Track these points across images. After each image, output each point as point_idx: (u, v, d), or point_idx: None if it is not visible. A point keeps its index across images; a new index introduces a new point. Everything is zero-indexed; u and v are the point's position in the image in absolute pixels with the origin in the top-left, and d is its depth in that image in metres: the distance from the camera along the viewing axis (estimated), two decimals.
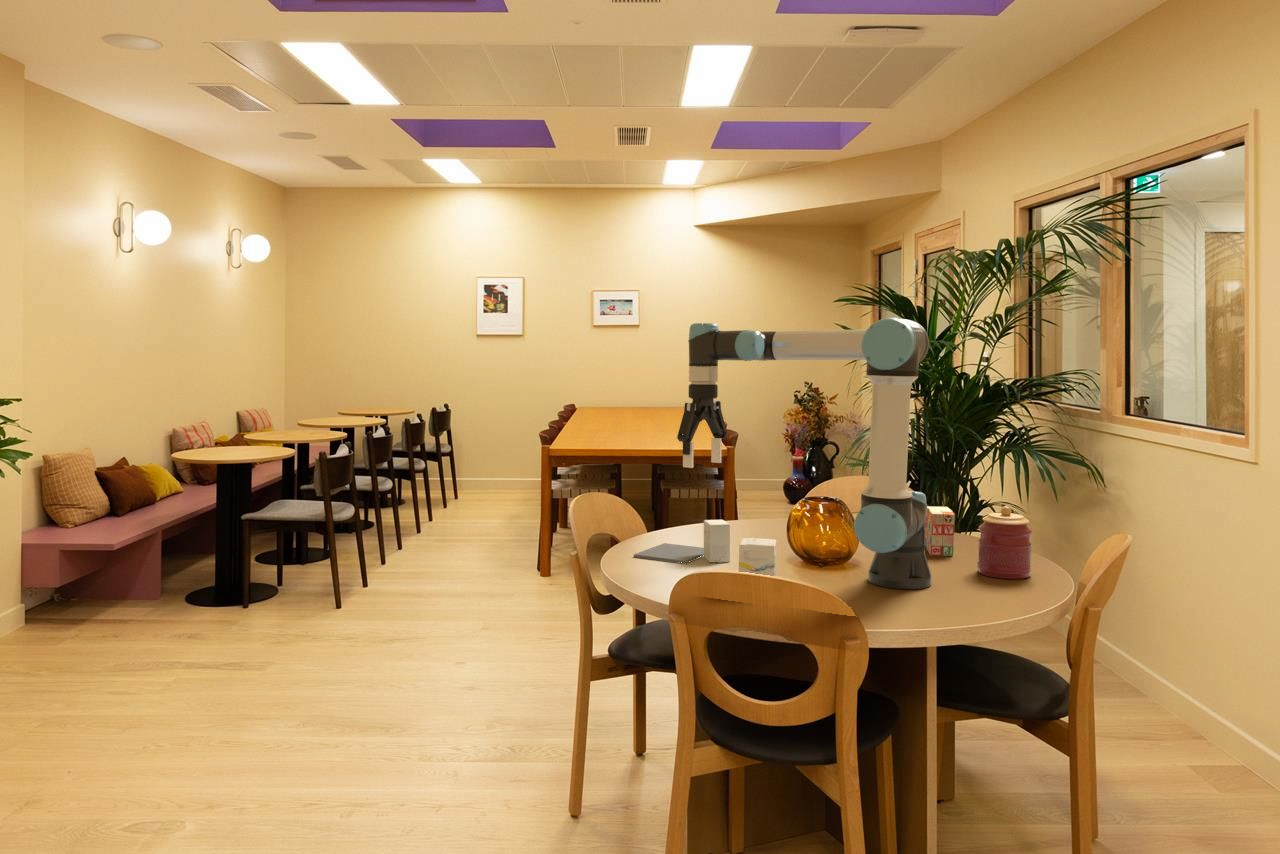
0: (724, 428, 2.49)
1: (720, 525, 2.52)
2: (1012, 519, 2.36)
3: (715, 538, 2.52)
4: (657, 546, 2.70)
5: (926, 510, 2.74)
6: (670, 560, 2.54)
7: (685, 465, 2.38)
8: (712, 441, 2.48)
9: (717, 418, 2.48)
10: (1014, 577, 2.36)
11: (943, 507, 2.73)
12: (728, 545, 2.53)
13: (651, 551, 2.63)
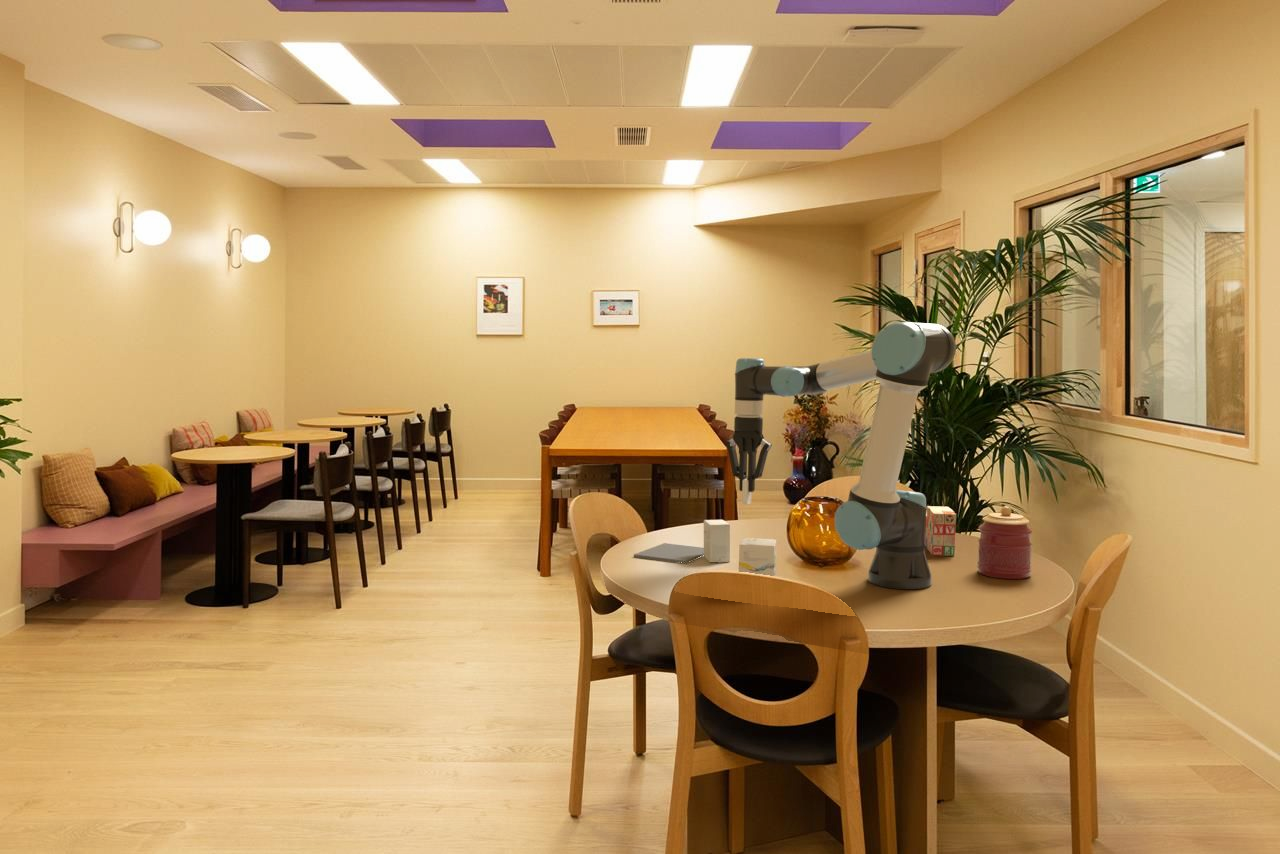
0: (757, 471, 2.48)
1: (720, 525, 2.52)
2: (1012, 519, 2.36)
3: (715, 538, 2.52)
4: (657, 546, 2.70)
5: (927, 510, 2.74)
6: (670, 560, 2.54)
7: None
8: None
9: None
10: (1014, 577, 2.36)
11: (944, 507, 2.73)
12: (728, 545, 2.53)
13: (651, 551, 2.63)
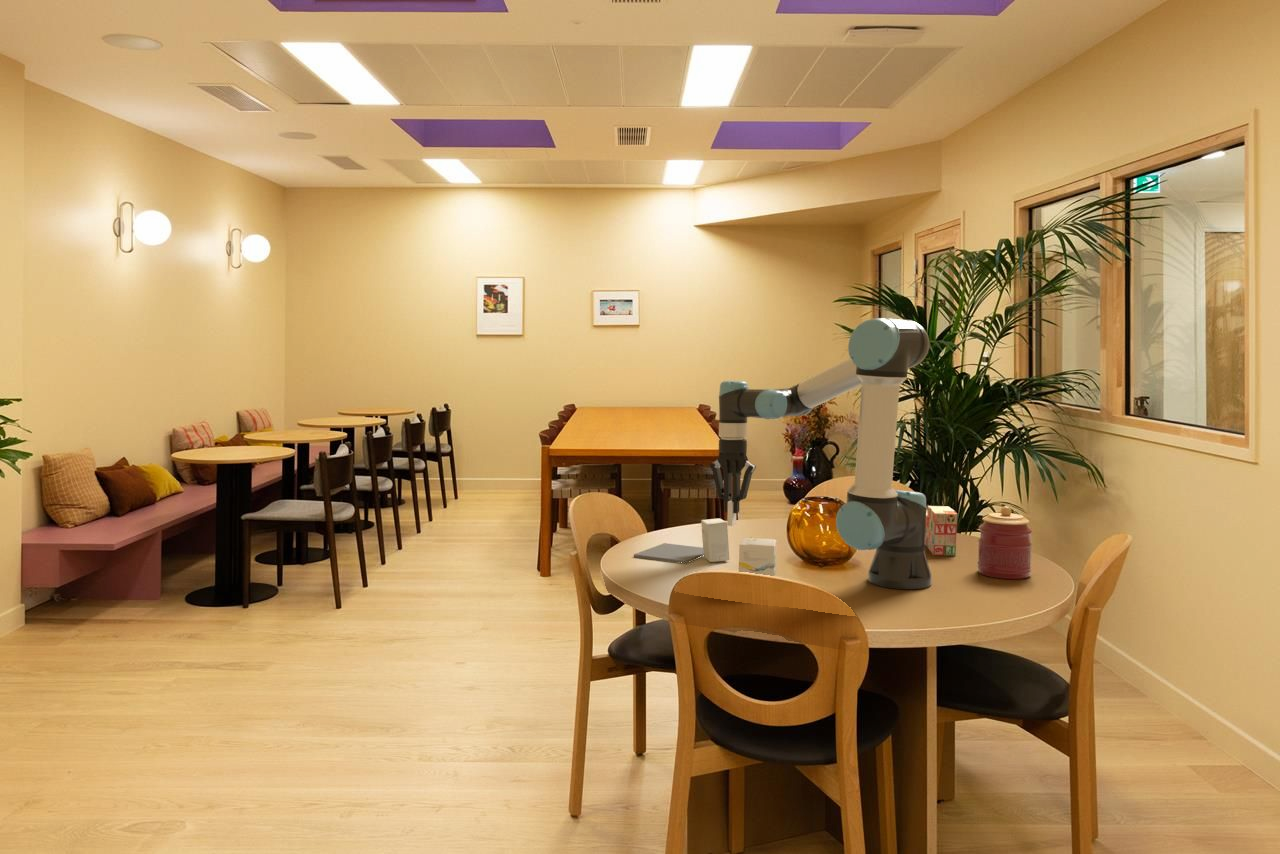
0: (741, 492, 2.50)
1: (717, 524, 2.52)
2: (1012, 519, 2.36)
3: (713, 537, 2.52)
4: (657, 546, 2.70)
5: (927, 510, 2.75)
6: (670, 560, 2.54)
7: None
8: None
9: None
10: (1014, 577, 2.36)
11: (944, 507, 2.73)
12: (727, 543, 2.53)
13: (651, 551, 2.63)
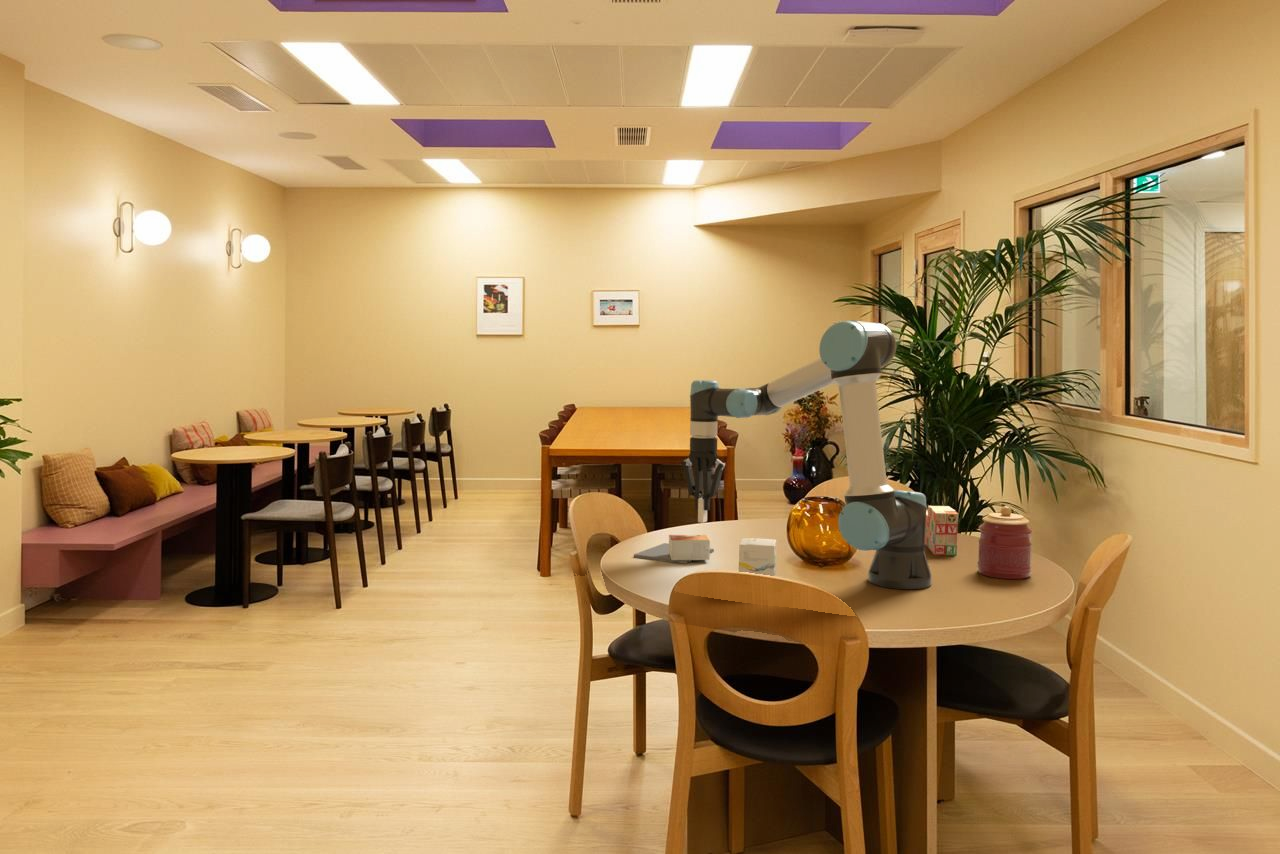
0: (712, 490, 2.55)
1: (672, 549, 2.52)
2: (1012, 519, 2.36)
3: (685, 554, 2.52)
4: (657, 546, 2.70)
5: (928, 509, 2.75)
6: (670, 560, 2.54)
7: None
8: None
9: None
10: (1014, 577, 2.36)
11: (945, 506, 2.74)
12: (692, 541, 2.52)
13: (651, 551, 2.63)
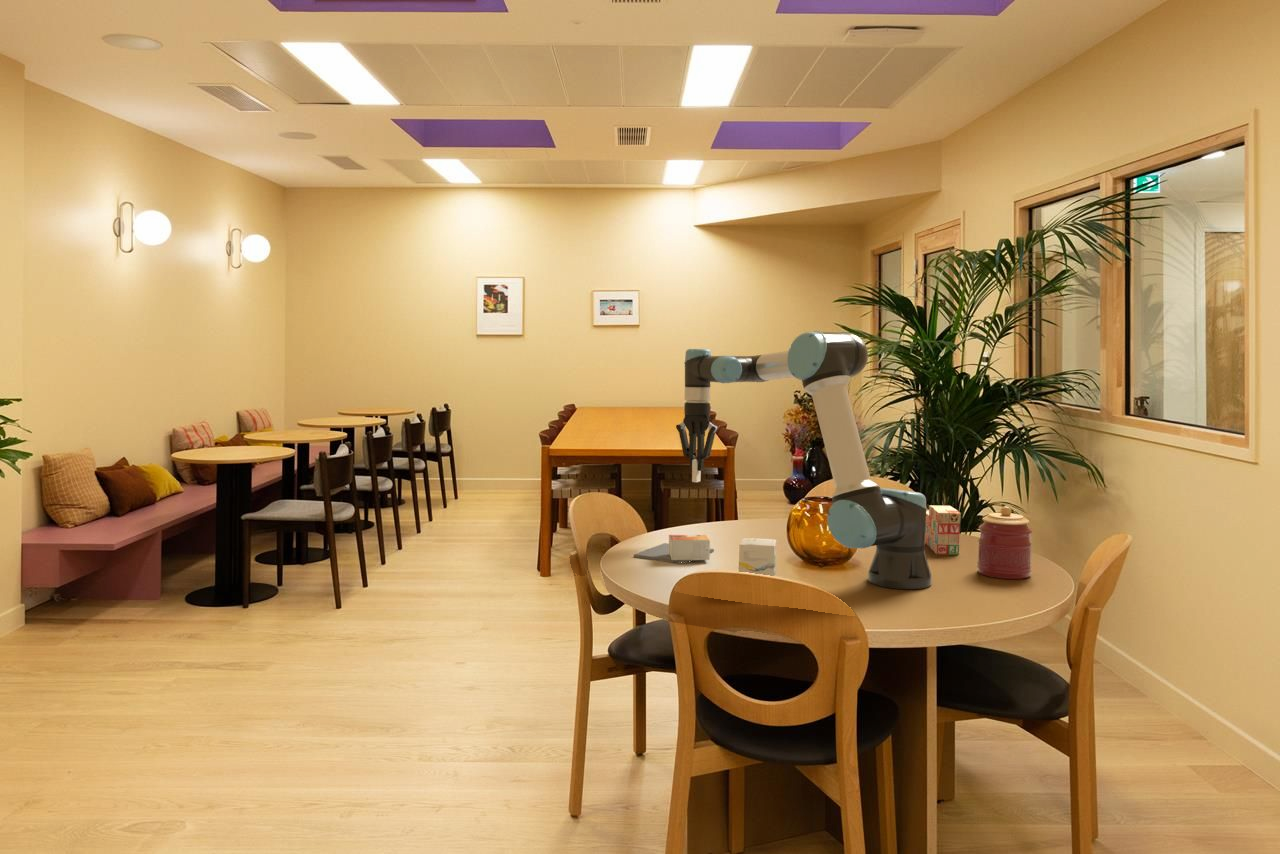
0: (705, 451, 2.72)
1: (672, 549, 2.52)
2: (1012, 519, 2.36)
3: (685, 554, 2.52)
4: (657, 546, 2.70)
5: (929, 509, 2.76)
6: (670, 560, 2.54)
7: None
8: None
9: None
10: (1014, 577, 2.36)
11: (946, 506, 2.74)
12: (692, 541, 2.52)
13: (651, 551, 2.63)
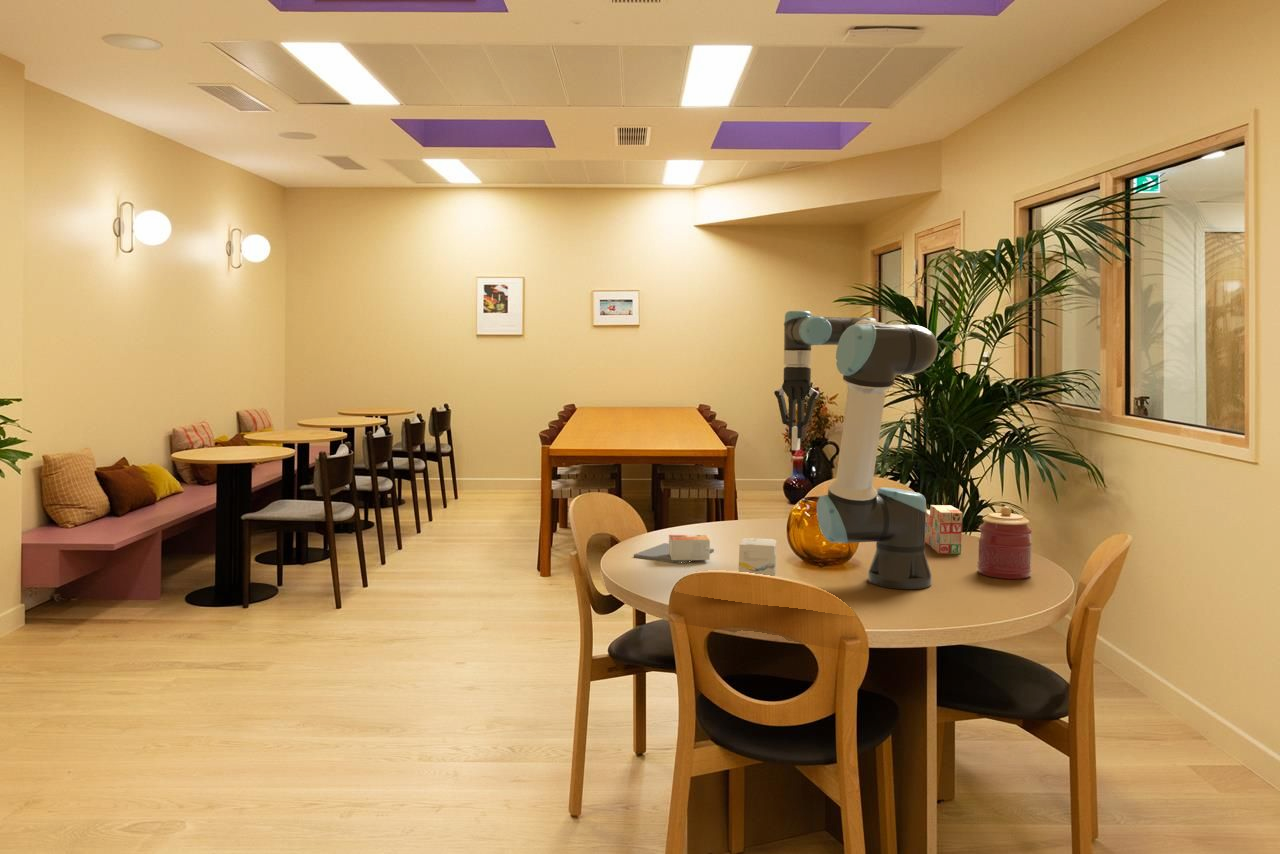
0: (806, 418, 2.61)
1: (672, 549, 2.52)
2: (1012, 519, 2.36)
3: (685, 554, 2.52)
4: (657, 546, 2.70)
5: (930, 509, 2.76)
6: (670, 560, 2.54)
7: None
8: None
9: None
10: (1014, 577, 2.36)
11: (947, 506, 2.75)
12: (692, 541, 2.52)
13: (651, 551, 2.63)
